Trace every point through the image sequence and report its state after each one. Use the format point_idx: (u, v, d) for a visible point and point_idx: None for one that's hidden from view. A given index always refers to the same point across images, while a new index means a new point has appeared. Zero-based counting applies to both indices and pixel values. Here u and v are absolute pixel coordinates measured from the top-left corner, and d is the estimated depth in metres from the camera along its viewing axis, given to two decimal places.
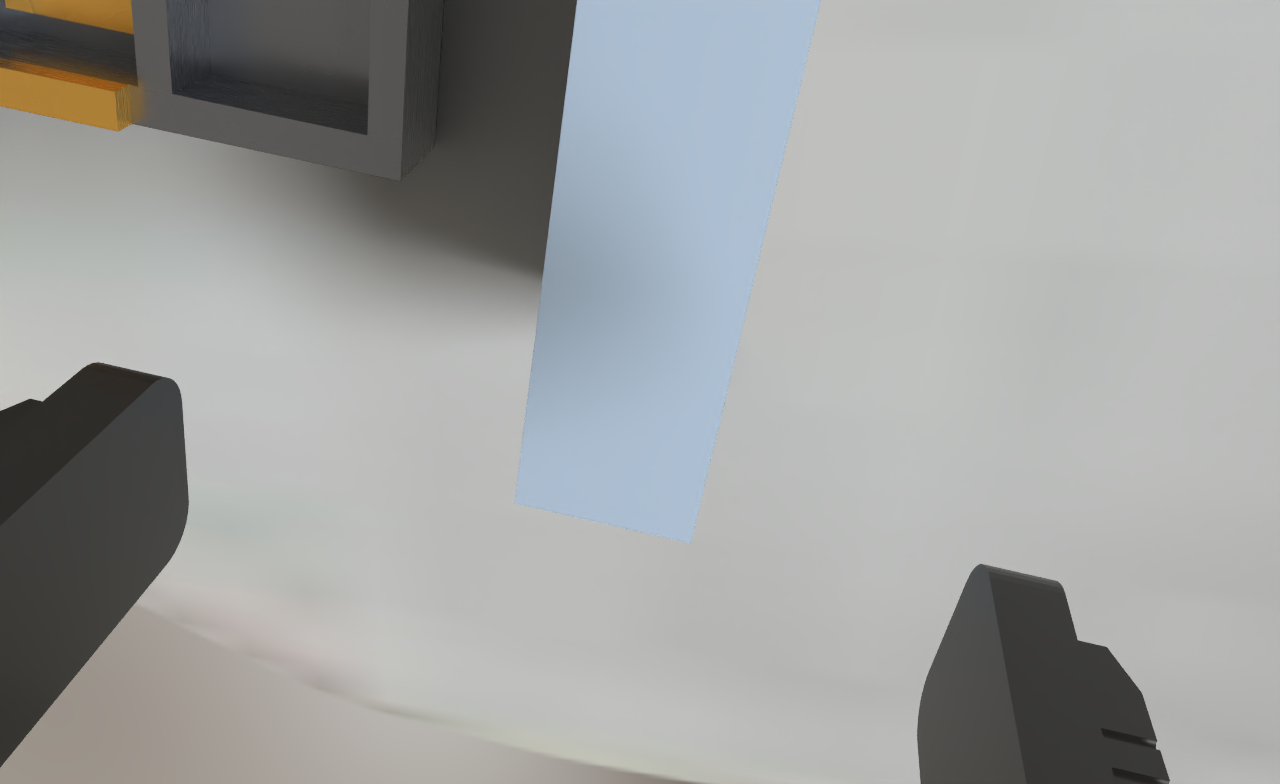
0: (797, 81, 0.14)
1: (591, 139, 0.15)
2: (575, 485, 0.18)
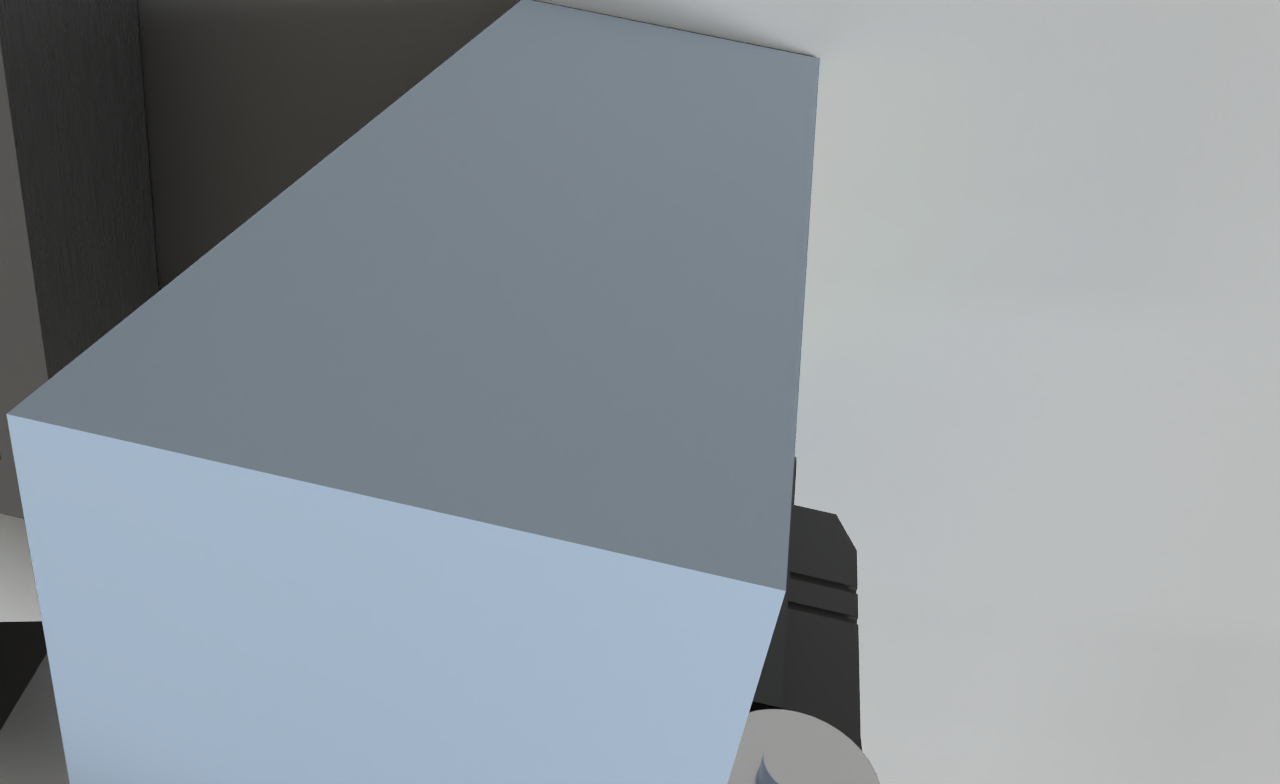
0: None
1: None
2: None
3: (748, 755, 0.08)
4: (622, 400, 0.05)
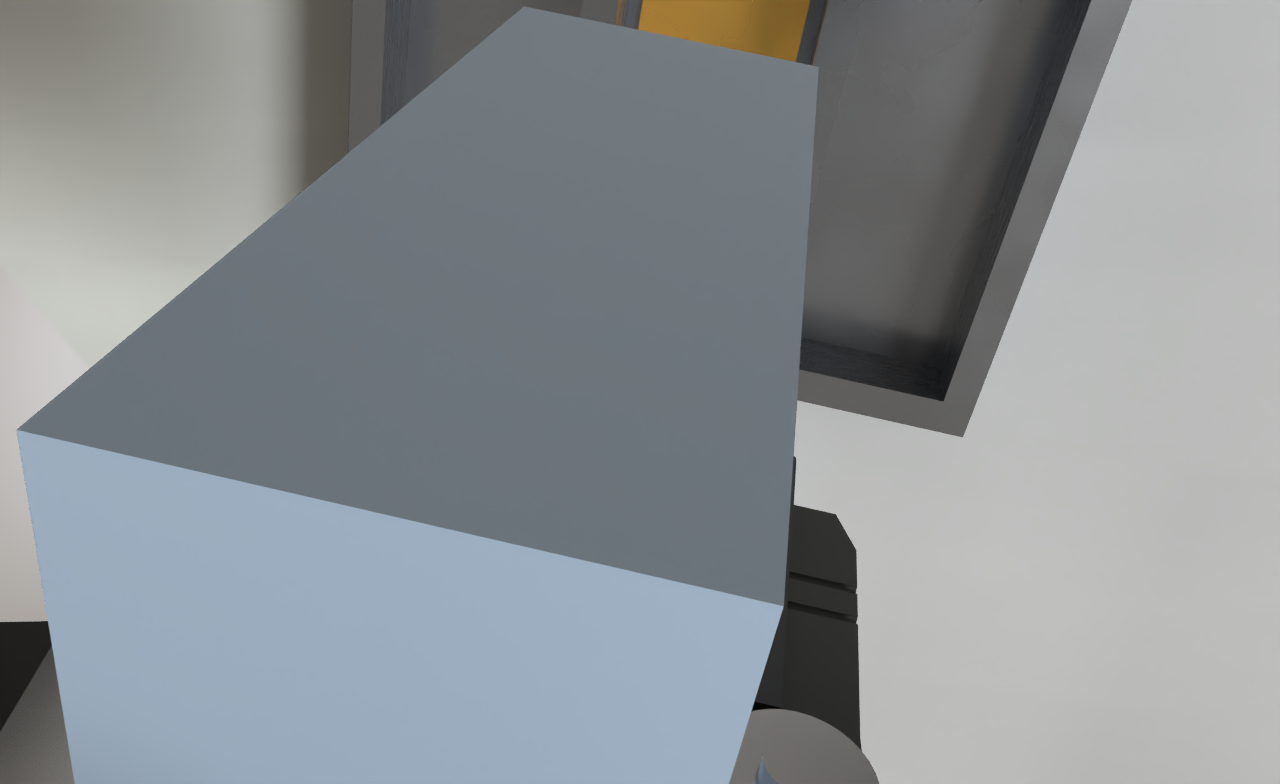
0: None
1: None
2: None
3: (747, 755, 0.08)
4: (622, 418, 0.05)
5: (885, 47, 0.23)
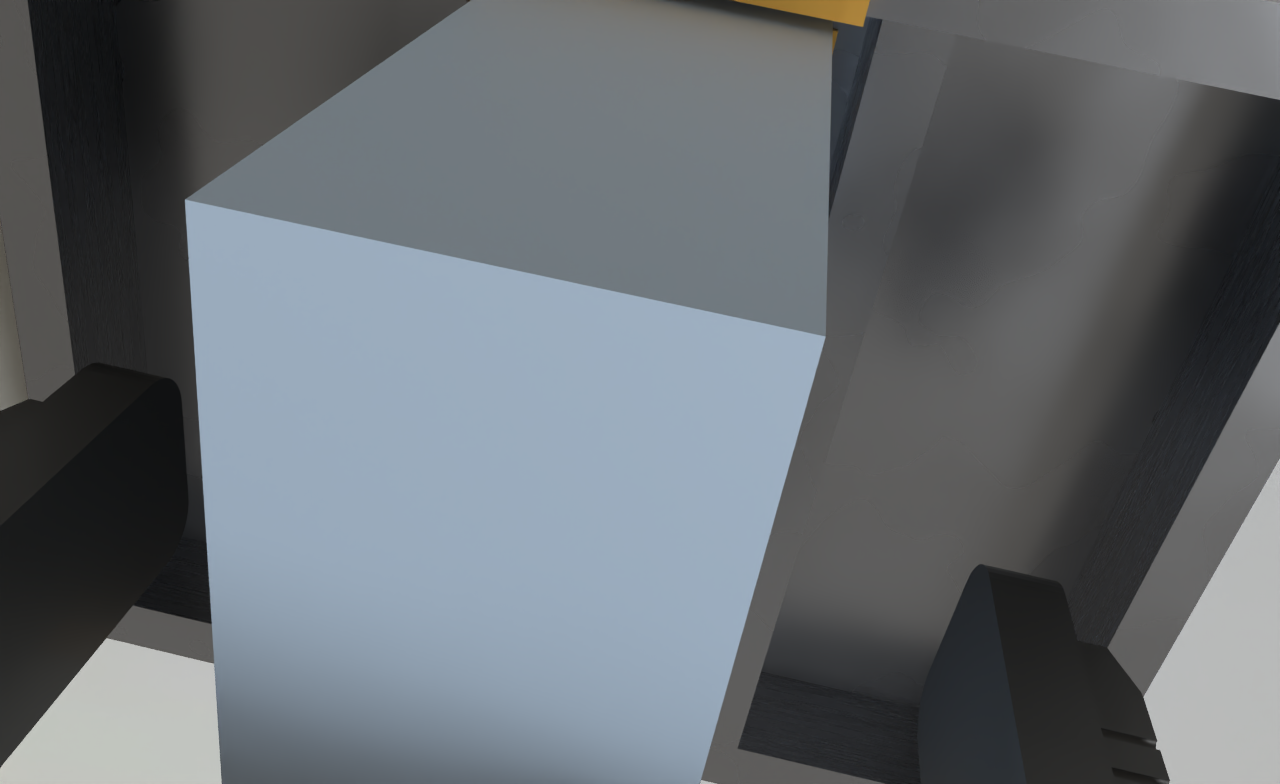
0: (756, 547, 0.06)
1: (283, 626, 0.06)
2: None
3: None
4: (681, 216, 0.06)
5: (927, 270, 0.13)
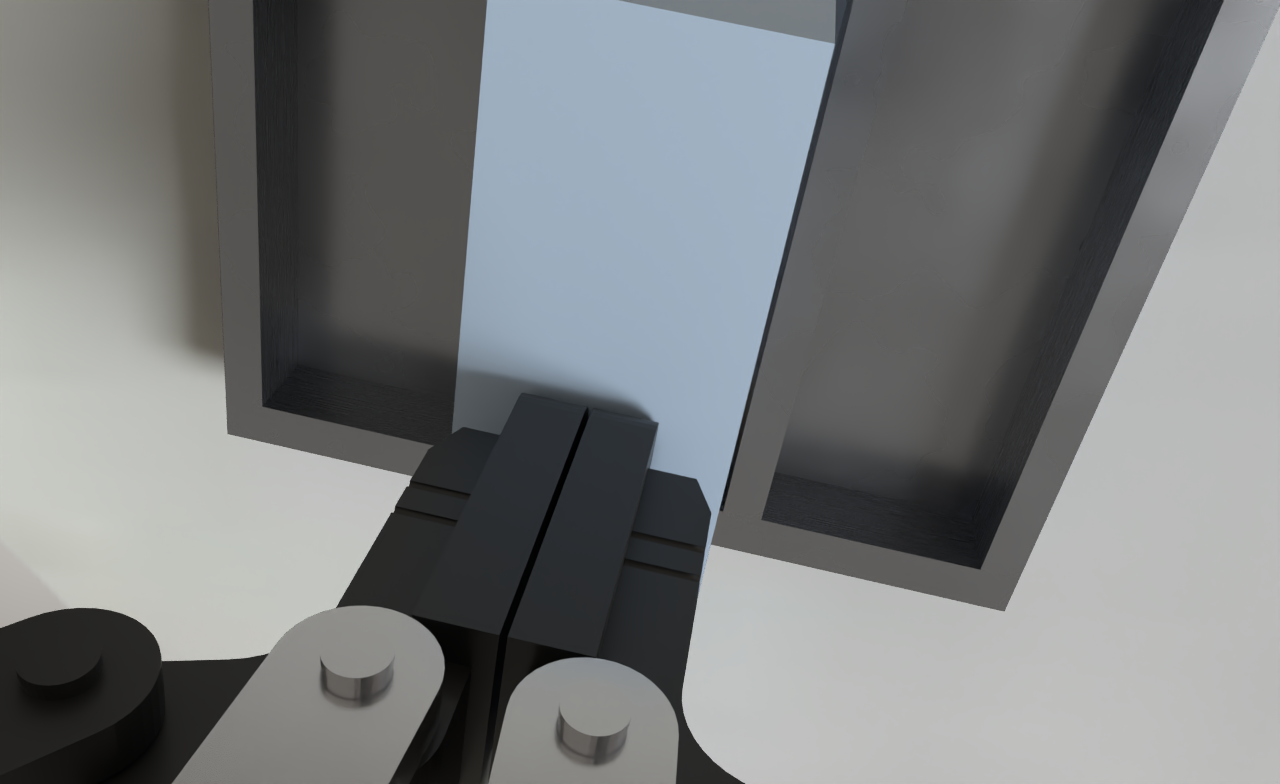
0: (794, 181, 0.10)
1: (509, 255, 0.11)
2: None
3: (549, 700, 0.08)
4: (750, 1, 0.10)
5: (908, 130, 0.18)
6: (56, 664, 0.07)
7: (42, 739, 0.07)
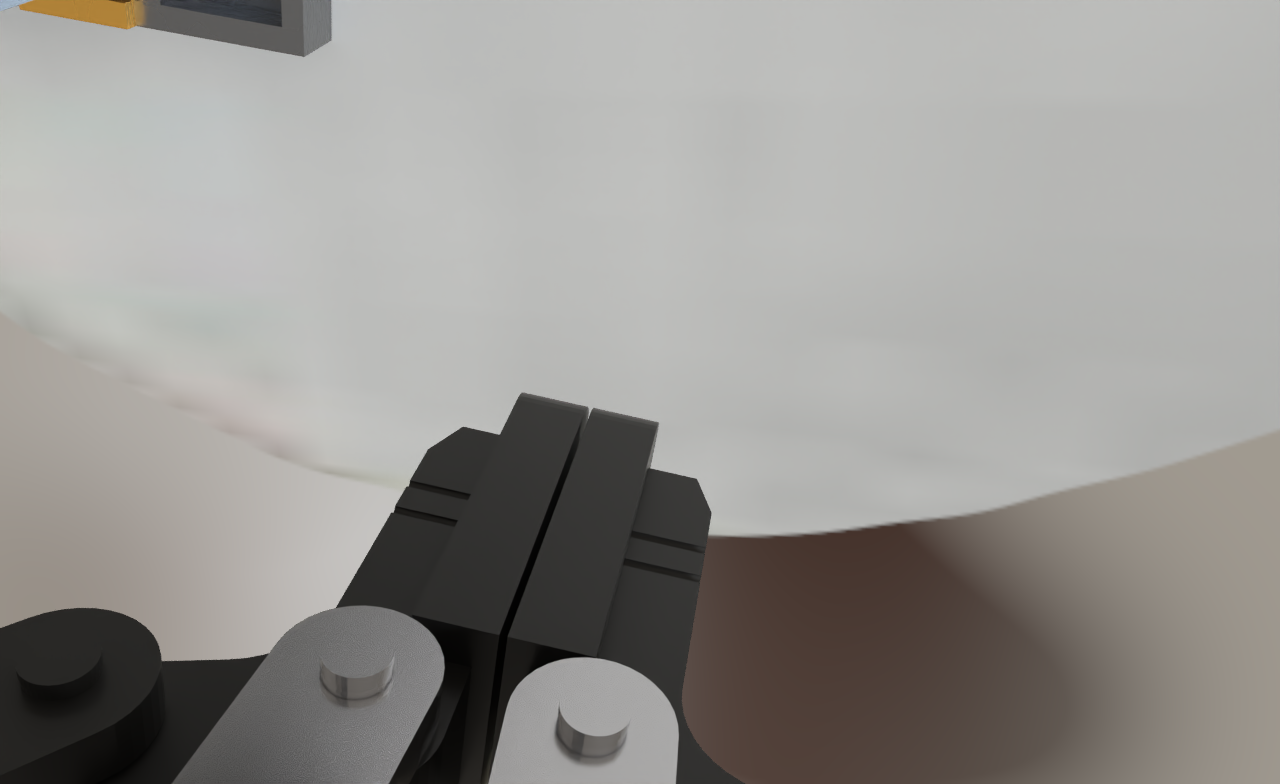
0: None
1: None
2: None
3: (549, 700, 0.08)
4: None
5: None
6: (57, 664, 0.07)
7: (43, 739, 0.07)
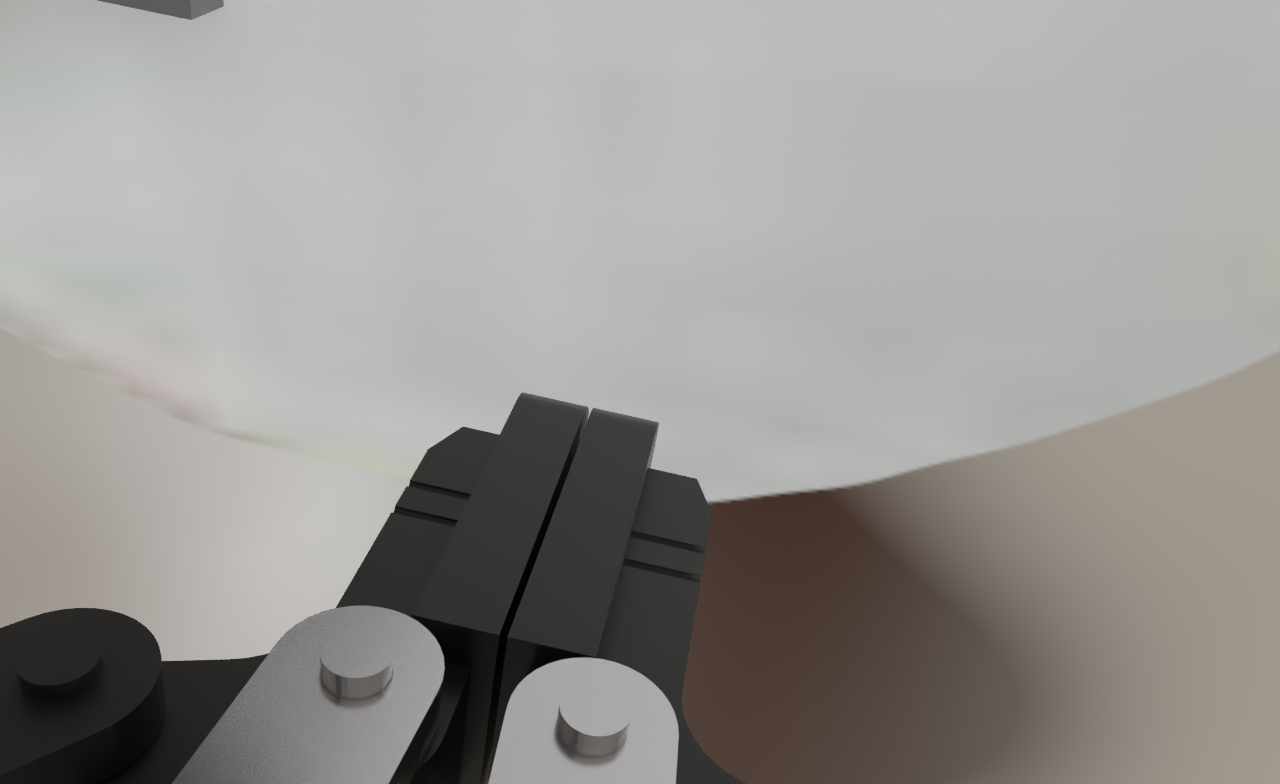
0: None
1: None
2: None
3: (549, 699, 0.08)
4: None
5: None
6: (56, 664, 0.07)
7: (42, 739, 0.07)
